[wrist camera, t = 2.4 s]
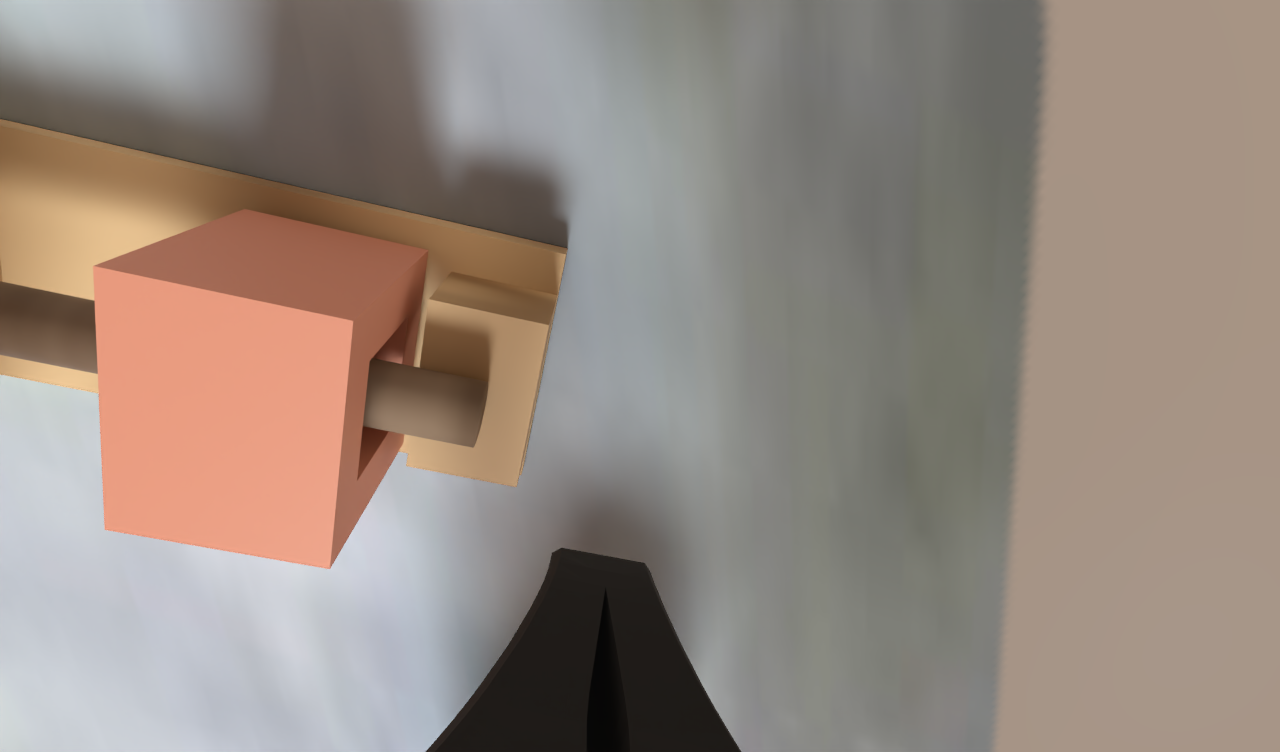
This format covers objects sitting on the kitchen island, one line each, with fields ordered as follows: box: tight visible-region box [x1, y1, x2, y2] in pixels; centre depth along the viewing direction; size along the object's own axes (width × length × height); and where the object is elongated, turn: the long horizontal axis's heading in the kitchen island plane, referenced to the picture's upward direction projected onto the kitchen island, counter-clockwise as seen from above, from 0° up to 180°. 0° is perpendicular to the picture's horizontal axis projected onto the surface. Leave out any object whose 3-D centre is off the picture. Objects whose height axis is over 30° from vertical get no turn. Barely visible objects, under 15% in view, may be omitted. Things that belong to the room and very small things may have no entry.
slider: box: [93, 209, 428, 569], centre depth 15 cm, size 4×5×5 cm
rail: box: [0, 119, 568, 487], centre depth 15 cm, size 15×6×6 cm, turn 77°
